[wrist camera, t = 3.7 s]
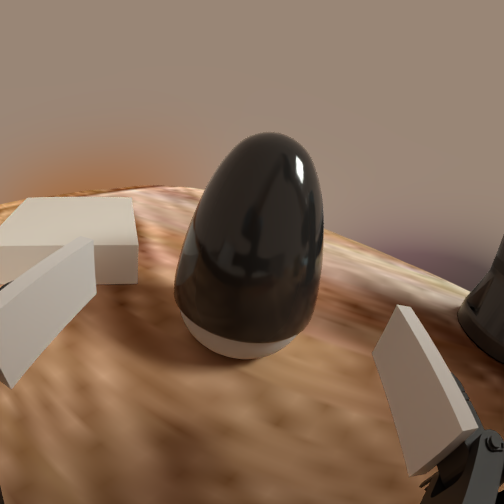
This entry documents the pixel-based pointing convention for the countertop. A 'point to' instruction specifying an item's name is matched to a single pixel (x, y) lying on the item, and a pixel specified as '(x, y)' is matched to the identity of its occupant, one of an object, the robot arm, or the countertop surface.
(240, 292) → the dark brown rounded piece
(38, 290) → the robot arm
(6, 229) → the riser
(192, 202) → the countertop surface
